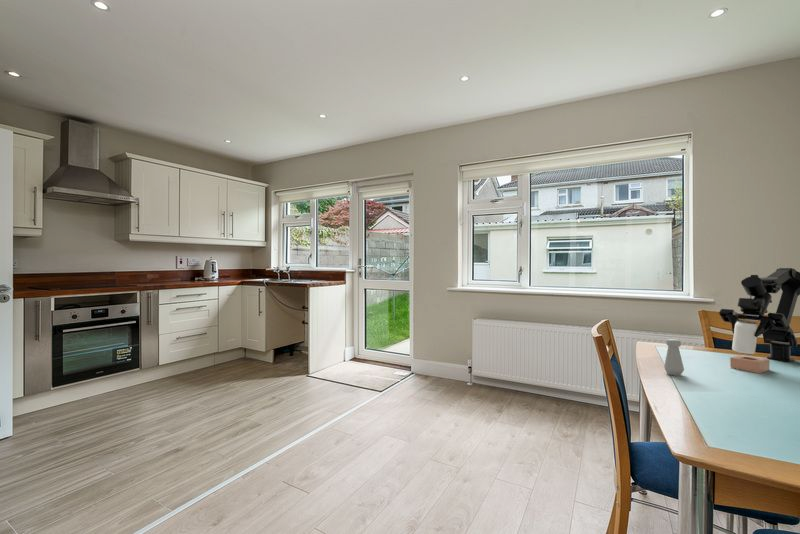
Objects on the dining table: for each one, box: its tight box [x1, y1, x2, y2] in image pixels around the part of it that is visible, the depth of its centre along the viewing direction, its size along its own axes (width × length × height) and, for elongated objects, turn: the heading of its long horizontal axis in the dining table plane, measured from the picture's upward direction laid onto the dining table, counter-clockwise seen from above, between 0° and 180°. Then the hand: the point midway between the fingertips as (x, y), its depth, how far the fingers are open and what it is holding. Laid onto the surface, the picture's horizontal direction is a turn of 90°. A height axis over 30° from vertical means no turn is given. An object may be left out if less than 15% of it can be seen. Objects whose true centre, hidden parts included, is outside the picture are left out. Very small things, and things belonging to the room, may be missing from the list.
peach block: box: [729, 354, 771, 374], centre depth 136 cm, size 8×8×4 cm
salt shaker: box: [663, 338, 685, 377], centre depth 131 cm, size 6×6×13 cm
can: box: [731, 319, 759, 355], centre depth 137 cm, size 6×6×12 cm
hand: (744, 334), depth 136 cm, fingers closed on can, 6 cm apart
